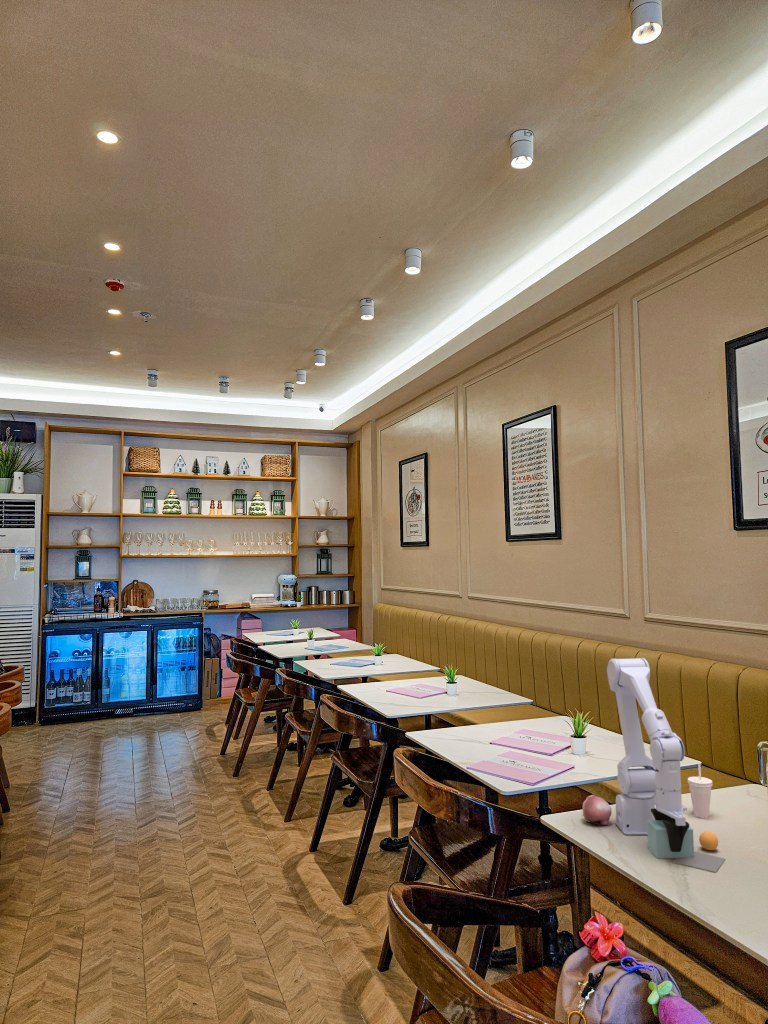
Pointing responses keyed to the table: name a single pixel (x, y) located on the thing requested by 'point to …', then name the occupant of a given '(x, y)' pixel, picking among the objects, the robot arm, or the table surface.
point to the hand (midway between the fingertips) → (670, 845)
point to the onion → (596, 810)
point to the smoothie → (700, 794)
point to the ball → (708, 840)
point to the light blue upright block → (667, 841)
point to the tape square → (701, 861)
